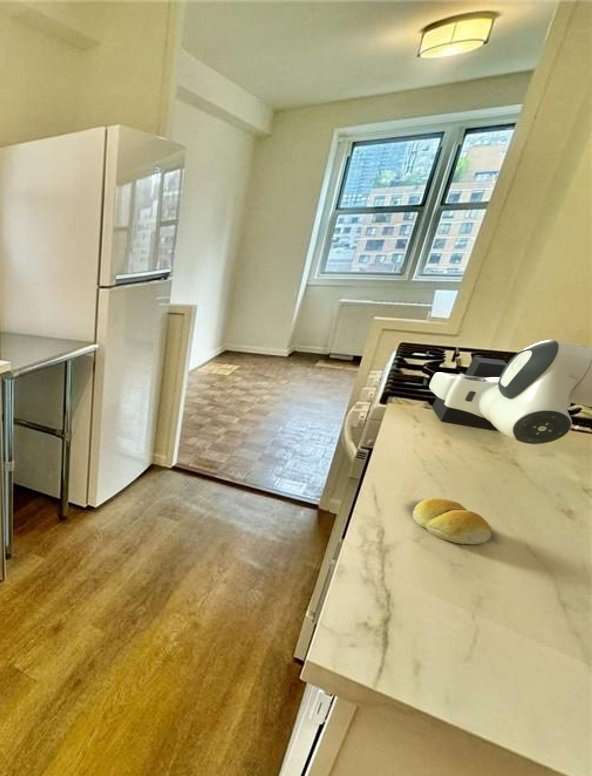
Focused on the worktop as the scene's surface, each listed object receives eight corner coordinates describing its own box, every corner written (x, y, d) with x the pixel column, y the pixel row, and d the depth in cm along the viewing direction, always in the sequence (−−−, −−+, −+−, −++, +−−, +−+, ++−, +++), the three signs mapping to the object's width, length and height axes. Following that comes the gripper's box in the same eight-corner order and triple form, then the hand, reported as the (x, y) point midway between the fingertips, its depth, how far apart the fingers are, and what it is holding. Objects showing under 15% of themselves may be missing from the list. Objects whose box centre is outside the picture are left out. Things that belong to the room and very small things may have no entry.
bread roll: (444, 510, 79) (456, 490, 77) (497, 545, 71) (511, 523, 69) (395, 511, 78) (405, 490, 77) (443, 546, 70) (455, 524, 69)
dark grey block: (481, 402, 111) (503, 360, 107) (487, 409, 108) (510, 365, 103) (453, 397, 114) (473, 356, 109) (458, 404, 110) (479, 362, 105)
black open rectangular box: (485, 415, 114) (492, 401, 112) (498, 430, 106) (506, 416, 105) (431, 407, 118) (438, 393, 117) (440, 421, 111) (447, 407, 109)
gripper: (584, 393, 92) (549, 372, 103) (449, 377, 100) (430, 359, 111) (565, 423, 95) (533, 400, 106) (436, 405, 103) (418, 385, 114)
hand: (479, 379), depth 109 cm, fingers closed on dark grey block, 5 cm apart
